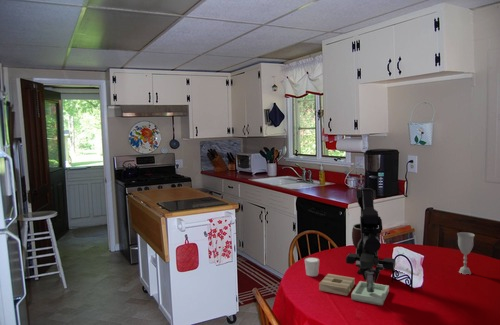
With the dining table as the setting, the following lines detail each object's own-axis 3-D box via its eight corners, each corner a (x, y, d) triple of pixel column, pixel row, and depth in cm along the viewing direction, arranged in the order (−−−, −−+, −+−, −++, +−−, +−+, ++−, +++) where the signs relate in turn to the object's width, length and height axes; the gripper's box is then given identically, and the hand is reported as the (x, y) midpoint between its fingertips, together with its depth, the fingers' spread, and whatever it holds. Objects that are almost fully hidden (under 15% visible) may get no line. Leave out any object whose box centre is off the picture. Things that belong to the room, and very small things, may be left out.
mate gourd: (379, 264, 195) (379, 225, 193) (350, 262, 200) (350, 223, 198) (380, 254, 209) (380, 217, 207) (354, 252, 214) (353, 216, 212)
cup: (319, 277, 183) (319, 262, 182) (304, 276, 184) (304, 261, 183) (319, 271, 189) (319, 257, 189) (305, 271, 191) (305, 256, 190)
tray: (359, 286, 171) (359, 280, 171) (388, 291, 165) (388, 285, 165) (351, 299, 159) (351, 293, 158) (382, 305, 153) (382, 299, 153)
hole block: (328, 280, 179) (327, 273, 178) (354, 284, 173) (354, 278, 173) (319, 290, 168) (319, 283, 168) (347, 295, 162) (347, 288, 162)
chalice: (456, 274, 180) (457, 235, 178) (455, 269, 186) (456, 231, 185) (475, 276, 177) (476, 237, 176) (472, 270, 184) (473, 232, 182)
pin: (366, 287, 165) (366, 267, 164) (377, 289, 162) (377, 268, 162) (363, 292, 161) (363, 270, 160) (374, 294, 159) (374, 272, 158)
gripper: (341, 247, 157) (342, 284, 159) (390, 253, 148) (390, 293, 150) (349, 239, 167) (349, 275, 168) (395, 244, 158) (395, 282, 159)
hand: (370, 281), depth 161 cm, fingers closed on pin, 4 cm apart
